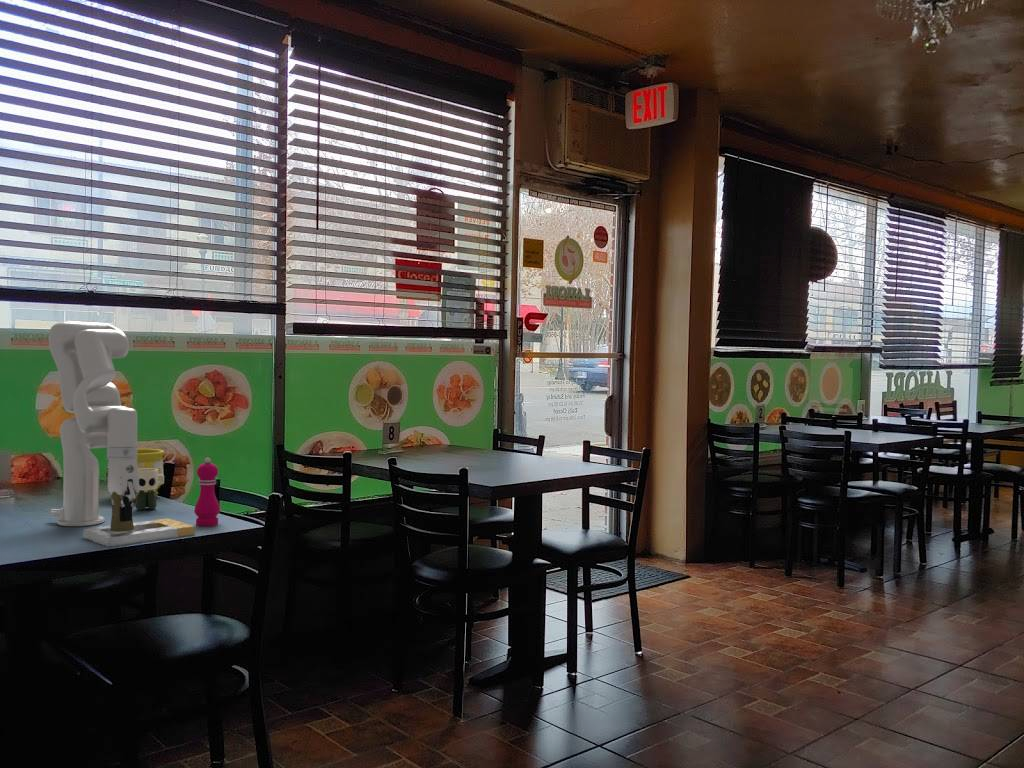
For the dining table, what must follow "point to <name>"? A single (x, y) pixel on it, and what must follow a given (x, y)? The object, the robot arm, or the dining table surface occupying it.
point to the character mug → (148, 488)
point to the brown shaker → (115, 521)
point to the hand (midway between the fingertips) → (122, 519)
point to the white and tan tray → (140, 532)
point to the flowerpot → (150, 462)
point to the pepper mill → (207, 495)
